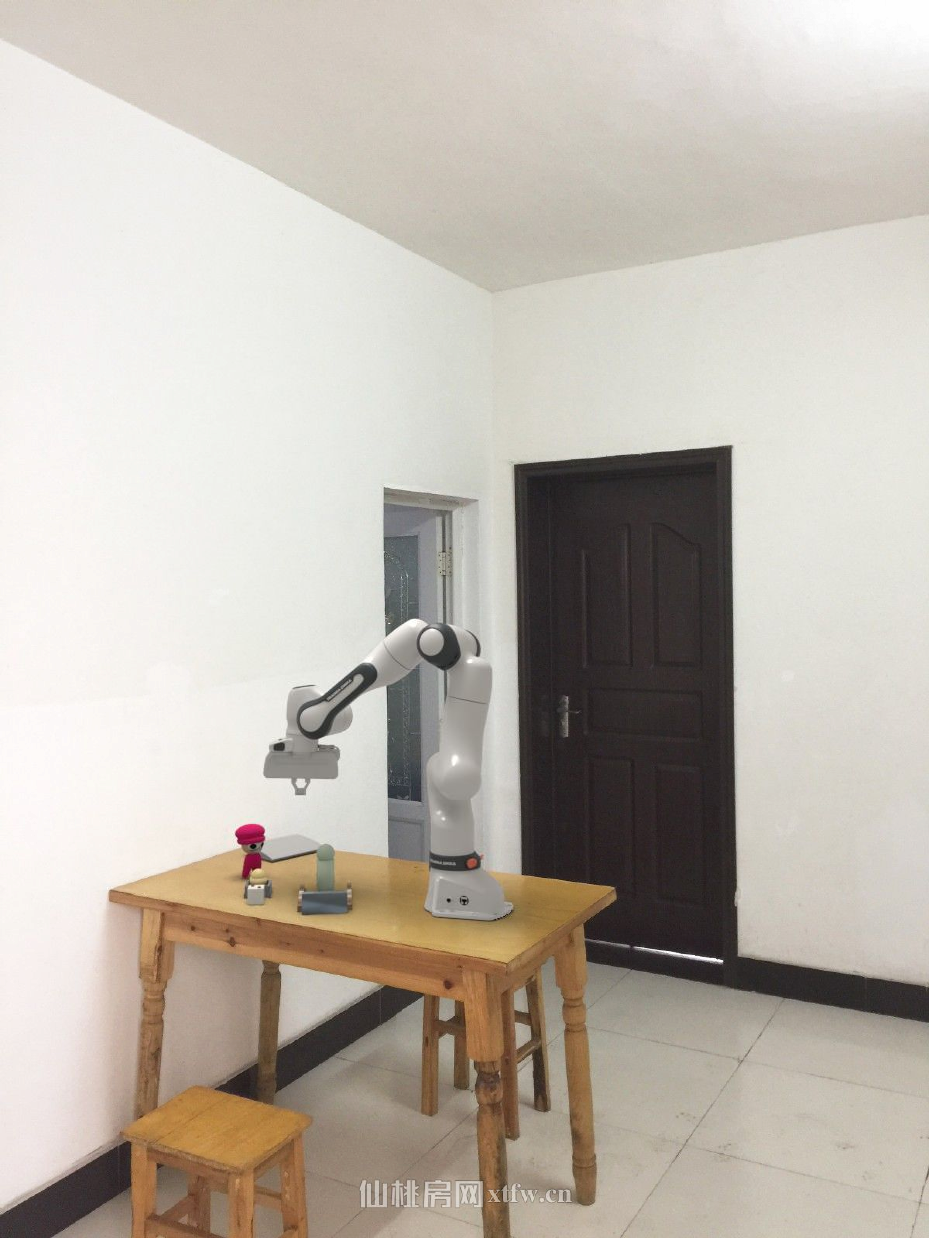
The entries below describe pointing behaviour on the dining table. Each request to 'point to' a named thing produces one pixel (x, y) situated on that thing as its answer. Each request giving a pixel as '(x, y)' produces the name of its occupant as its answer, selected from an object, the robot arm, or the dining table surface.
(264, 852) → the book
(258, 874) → the dome
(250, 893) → the die
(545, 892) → the dining table surface
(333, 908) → the track
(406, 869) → the dining table surface
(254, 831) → the toy
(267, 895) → the base
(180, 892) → the dining table surface
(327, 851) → the pawn
